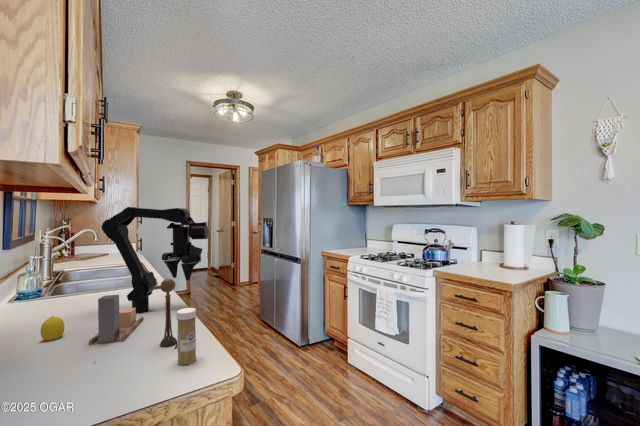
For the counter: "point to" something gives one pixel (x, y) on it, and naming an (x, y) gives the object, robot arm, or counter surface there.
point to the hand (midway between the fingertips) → (181, 279)
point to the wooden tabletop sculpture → (167, 314)
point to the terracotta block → (127, 317)
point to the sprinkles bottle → (186, 336)
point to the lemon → (52, 328)
